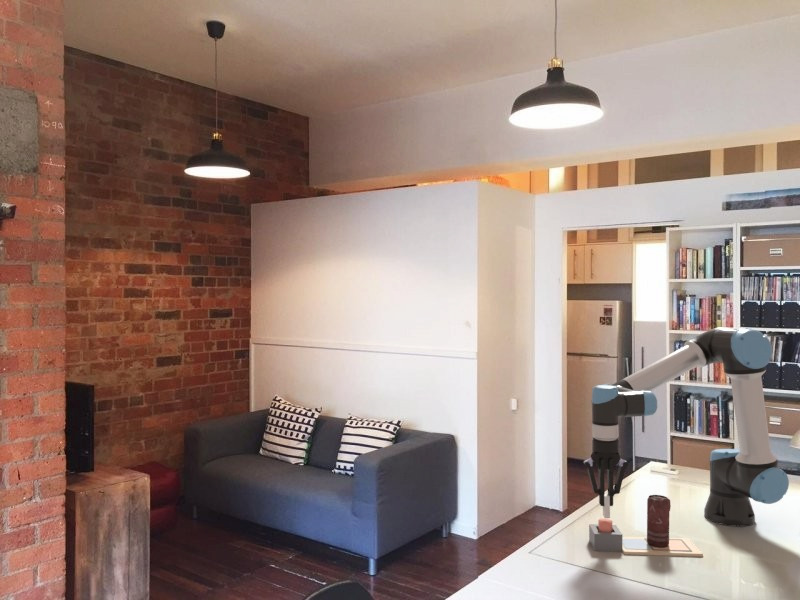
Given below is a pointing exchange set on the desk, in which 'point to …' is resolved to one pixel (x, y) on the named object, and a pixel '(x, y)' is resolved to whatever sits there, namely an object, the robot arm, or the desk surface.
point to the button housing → (605, 539)
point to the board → (673, 549)
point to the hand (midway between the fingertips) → (606, 516)
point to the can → (658, 521)
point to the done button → (604, 525)
